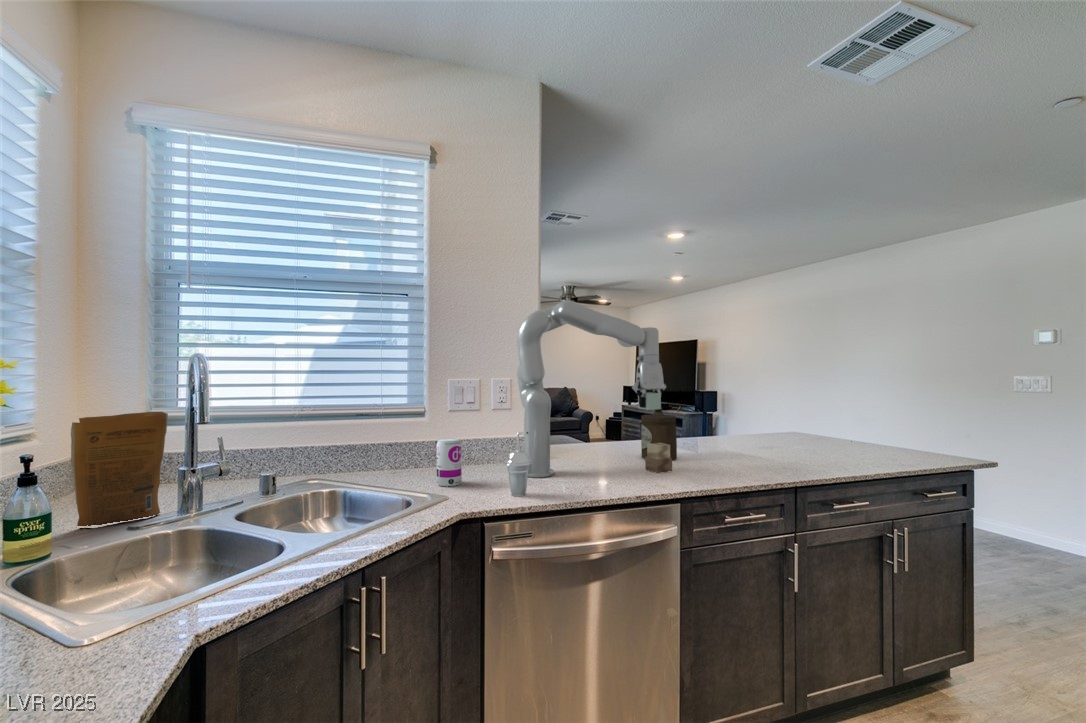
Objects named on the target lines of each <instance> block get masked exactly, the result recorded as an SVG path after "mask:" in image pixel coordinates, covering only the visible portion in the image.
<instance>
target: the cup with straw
mask: <svg viewBox="0 0 1086 723" xmlns="http://www.w3.org/2000/svg"><path fill="white" fill-rule="evenodd" d="M524 434H528V432H524V431H523V432H522V431H521V432H517V433H516V449H515V450H514V449H513V450H512V451H511V452H510V453H509V454H508V455H507V458H506V459H505V460H504V465H506V466H507V468H506V469H507V473H508V478H509V487H510V493H511V494H510V496H512V497H524V496H527V495H526V494H527V493H526V492H527V488H528V487H527V486H528V478H529V477H528V472H529V466H530V464H532V460H530V459H529V456H528V454H527V453H526V452H525V451H524V450H522V449H520V436H522V435H523V436H524Z"/></svg>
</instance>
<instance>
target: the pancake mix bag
mask: <svg viewBox="0 0 1086 723" xmlns="http://www.w3.org/2000/svg"><path fill="white" fill-rule="evenodd" d="M168 416H169V413H167V412H164V411H145V412H134V413H133V412H131V413H123V414H122V413H121V414H115V415H114V414H113V415H102V416H100V415H99V416H86V417H79V418H78V420H79V422H73V421H72V423H71V427H70V439H71V442H70V464H71V466H72V469H71V470H72V471H71V473H72V479H73V485H74V494H75V504H76V508H77V514H78V521H77V524H76V527H77V526H87V525H88V526H91V525H102V524H107V523H113V522H120V521H128V520H133V519H138V518H143V517H149V516H153V515H156V514H159V513H161V510H160V505H159V500H158V498H159V496H158V495H159V489H160V484H161V467H162V462H163V460H164V459H163V458H164V453H165V444H166V443H165V442H166V434H167V431H168V430H167V429H168V418H169V417H168ZM159 515H160V514H159Z"/></svg>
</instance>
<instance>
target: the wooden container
mask: <svg viewBox="0 0 1086 723" xmlns="http://www.w3.org/2000/svg"><path fill="white" fill-rule="evenodd" d="M640 417H641V420H640V421H641V422H640V423H641V426H640V428H641V431H640V432H641V433H640V434H641V436H640V437H641V438H640V440H641V441H640V442H641V443H640V444H641V445H640V446H641V458H642V459H643V458H644V459H643V460H645V457H647V444H651V443H663V444H668V445H670V458H672V461H675V460H677V458H678V453H677V452H678V450H677V449H678V444H677V443H678V442H677V441H678V440H677V416H676V415H672V414H671V415H670V414H664V413H663V408H662V407H661V409H654V412H653V413H652V414H642V415H641V416H640Z"/></svg>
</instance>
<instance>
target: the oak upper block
mask: <svg viewBox="0 0 1086 723" xmlns="http://www.w3.org/2000/svg"><path fill="white" fill-rule="evenodd" d="M647 457H650V458H653V459H657V460H658V459H667V458H670V445H668V444H663V443H651V444H647Z"/></svg>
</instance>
